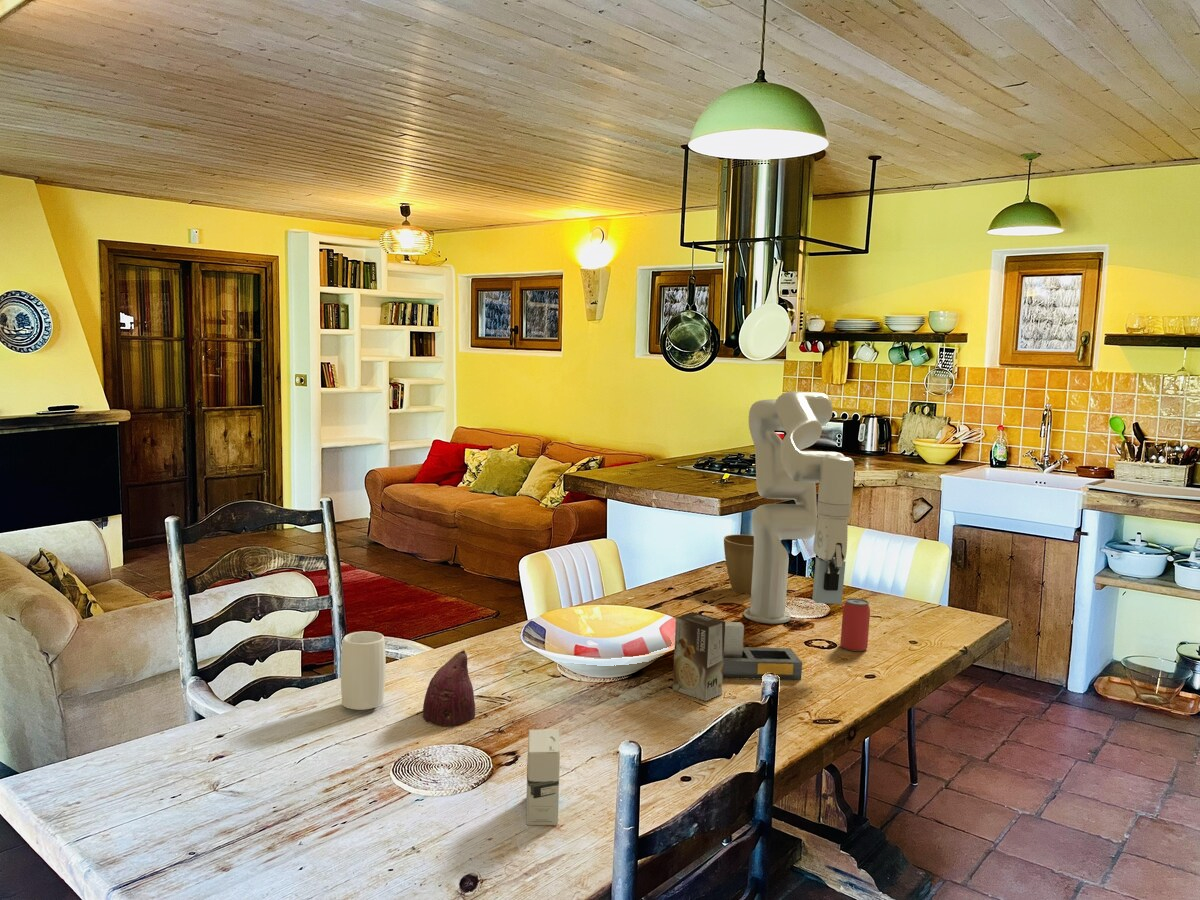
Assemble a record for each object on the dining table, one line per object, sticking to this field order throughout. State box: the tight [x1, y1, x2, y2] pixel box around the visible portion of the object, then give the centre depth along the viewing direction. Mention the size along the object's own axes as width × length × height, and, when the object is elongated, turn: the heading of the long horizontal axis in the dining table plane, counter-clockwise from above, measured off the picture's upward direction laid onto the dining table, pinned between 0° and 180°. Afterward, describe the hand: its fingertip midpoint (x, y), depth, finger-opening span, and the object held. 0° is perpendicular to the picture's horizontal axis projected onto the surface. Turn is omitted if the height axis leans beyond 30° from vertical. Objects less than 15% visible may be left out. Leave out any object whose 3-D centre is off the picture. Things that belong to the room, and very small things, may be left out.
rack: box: [722, 621, 803, 681], centre depth 205 cm, size 10×22×11 cm, turn 94°
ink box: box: [526, 728, 561, 826], centre depth 139 cm, size 8×5×12 cm, turn 5°
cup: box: [340, 630, 387, 711], centre depth 176 cm, size 8×8×14 cm
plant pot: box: [723, 534, 754, 594], centre depth 274 cm, size 15×15×16 cm
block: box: [811, 556, 847, 605], centre depth 209 cm, size 3×6×10 cm, turn 94°
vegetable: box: [422, 649, 476, 728], centre depth 174 cm, size 10×10×15 cm
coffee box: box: [672, 611, 726, 702], centre depth 191 cm, size 9×6×16 cm
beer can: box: [839, 597, 871, 652], centre depth 225 cm, size 7×7×12 cm
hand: (828, 587), depth 209 cm, fingers closed on block, 3 cm apart
